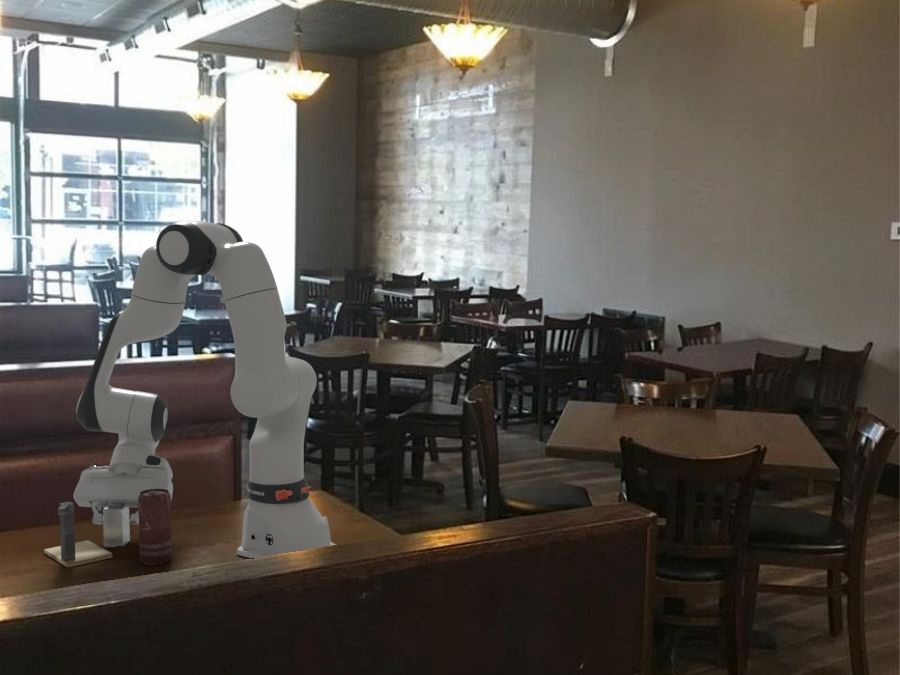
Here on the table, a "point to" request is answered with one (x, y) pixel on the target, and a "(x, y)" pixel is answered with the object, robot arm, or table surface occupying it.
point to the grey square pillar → (116, 524)
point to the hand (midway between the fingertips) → (115, 523)
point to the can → (155, 526)
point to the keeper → (69, 549)
